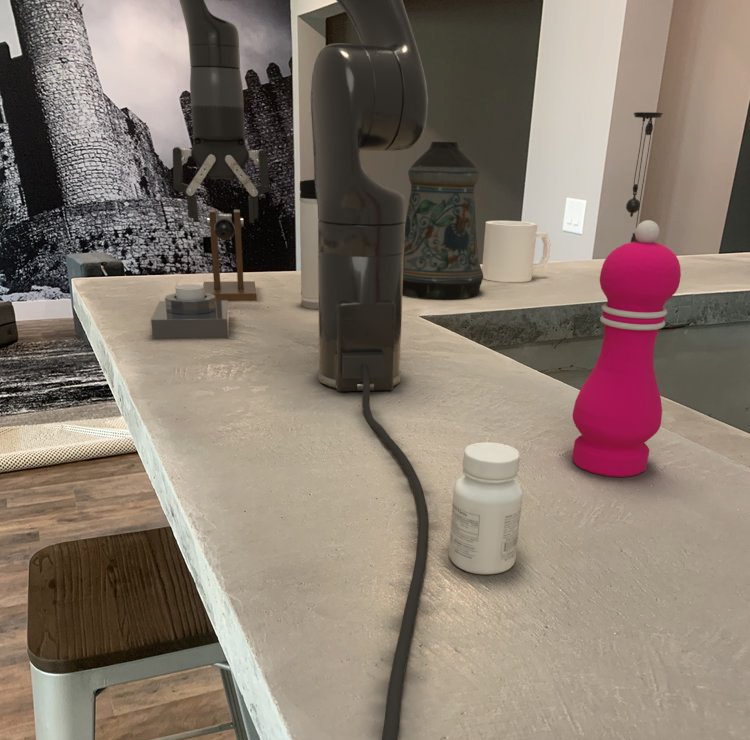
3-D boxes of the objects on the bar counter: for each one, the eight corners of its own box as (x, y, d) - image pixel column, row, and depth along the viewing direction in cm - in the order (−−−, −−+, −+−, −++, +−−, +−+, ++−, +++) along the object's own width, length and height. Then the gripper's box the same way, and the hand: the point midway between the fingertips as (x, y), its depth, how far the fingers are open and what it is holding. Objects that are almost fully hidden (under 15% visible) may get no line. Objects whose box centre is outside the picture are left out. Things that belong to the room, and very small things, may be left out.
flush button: (204, 302, 106) (203, 289, 106) (175, 302, 106) (174, 289, 105) (205, 296, 110) (204, 284, 109) (177, 296, 109) (176, 284, 109)
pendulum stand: (256, 301, 129) (252, 214, 123) (201, 301, 127) (195, 213, 122) (255, 288, 140) (251, 208, 134) (204, 288, 138) (198, 207, 132)
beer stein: (431, 303, 130) (439, 141, 120) (365, 285, 145) (367, 140, 134) (500, 294, 139) (514, 143, 129) (432, 279, 154) (439, 141, 143)
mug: (534, 273, 163) (539, 220, 158) (555, 281, 154) (561, 225, 150) (474, 274, 160) (478, 220, 156) (492, 282, 151) (497, 225, 147)
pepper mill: (588, 442, 71) (622, 214, 63) (664, 462, 67) (713, 221, 59) (551, 464, 66) (584, 219, 58) (632, 487, 62) (679, 227, 53)
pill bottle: (507, 544, 53) (519, 439, 49) (521, 576, 49) (534, 465, 46) (444, 543, 53) (452, 438, 49) (452, 576, 49) (461, 464, 45)
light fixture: (600, 267, 173) (622, 112, 160) (634, 267, 175) (659, 113, 161) (620, 274, 164) (646, 111, 151) (656, 274, 166) (685, 112, 153)
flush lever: (235, 241, 118) (234, 219, 117) (214, 241, 118) (213, 219, 116) (235, 231, 131) (234, 211, 129) (216, 231, 130) (215, 211, 129)
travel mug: (336, 311, 123) (336, 176, 114) (296, 308, 124) (294, 174, 115) (345, 304, 128) (346, 174, 120) (307, 301, 129) (305, 173, 121)
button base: (228, 338, 105) (226, 305, 103) (153, 339, 103) (149, 306, 101) (228, 318, 116) (227, 288, 114) (161, 319, 115) (158, 288, 113)
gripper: (165, 101, 107) (175, 224, 114) (267, 105, 109) (271, 225, 116) (169, 103, 113) (178, 219, 120) (265, 106, 116) (269, 220, 123)
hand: (224, 222), depth 118 cm, fingers open, 8 cm apart
